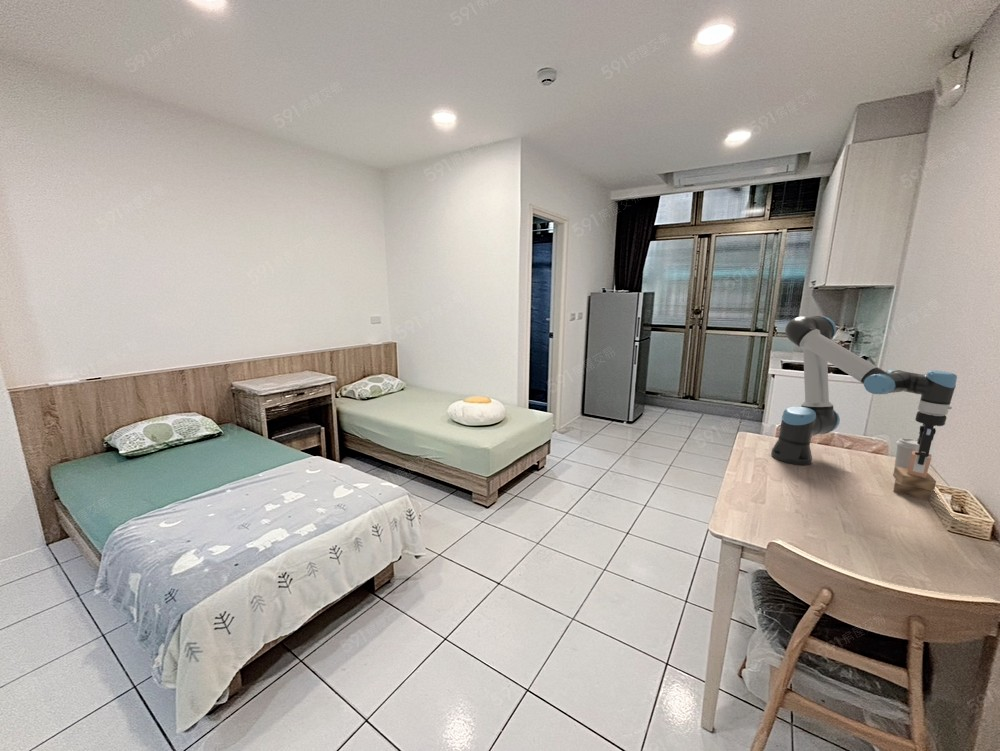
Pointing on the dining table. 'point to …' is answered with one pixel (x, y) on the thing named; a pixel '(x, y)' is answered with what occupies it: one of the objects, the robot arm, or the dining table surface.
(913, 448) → the coffee cup
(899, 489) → the slab bottom
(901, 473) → the slab top
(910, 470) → the terracotta block
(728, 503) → the dining table surface
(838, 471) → the dining table surface
